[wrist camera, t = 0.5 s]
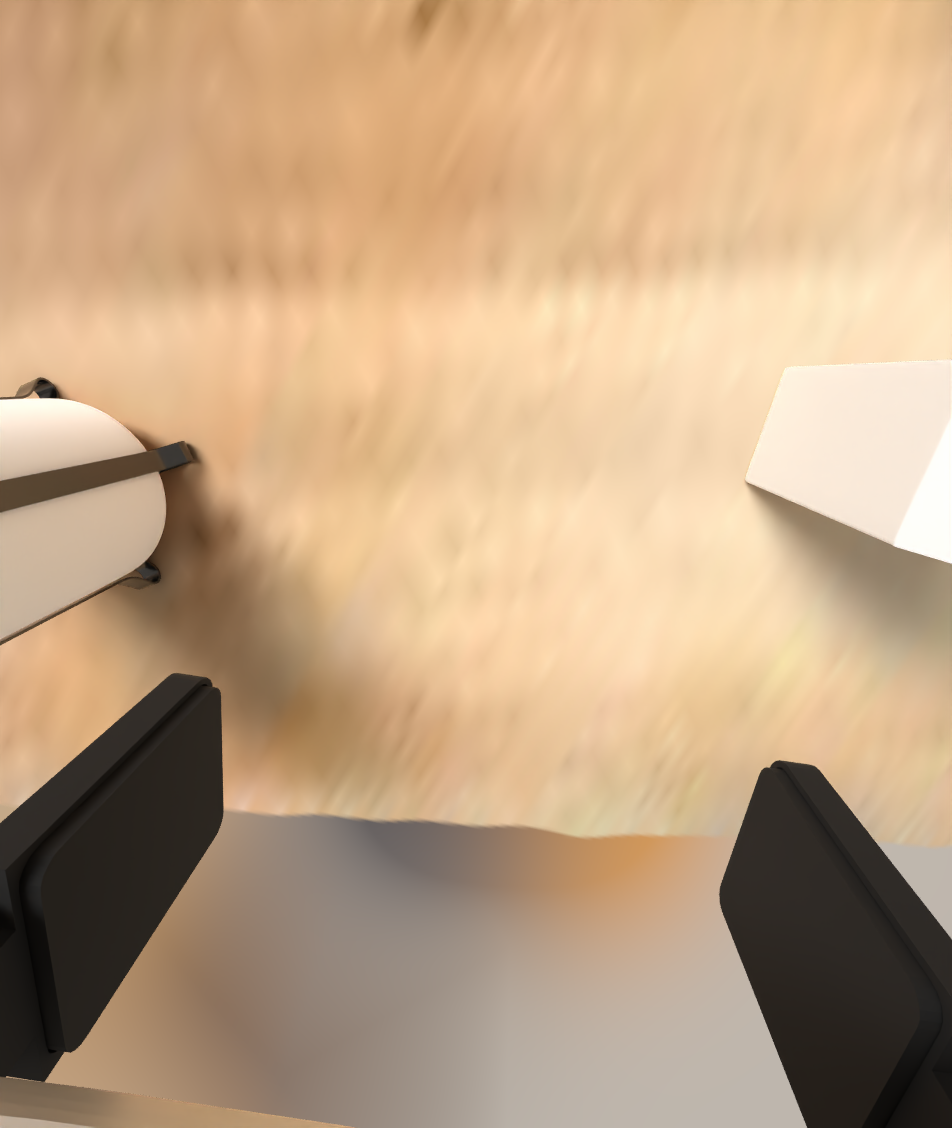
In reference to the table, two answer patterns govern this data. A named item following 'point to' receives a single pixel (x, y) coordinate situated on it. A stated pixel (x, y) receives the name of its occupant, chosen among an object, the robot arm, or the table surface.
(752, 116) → the table surface
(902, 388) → the milk carton
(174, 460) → the coffee press
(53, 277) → the table surface
